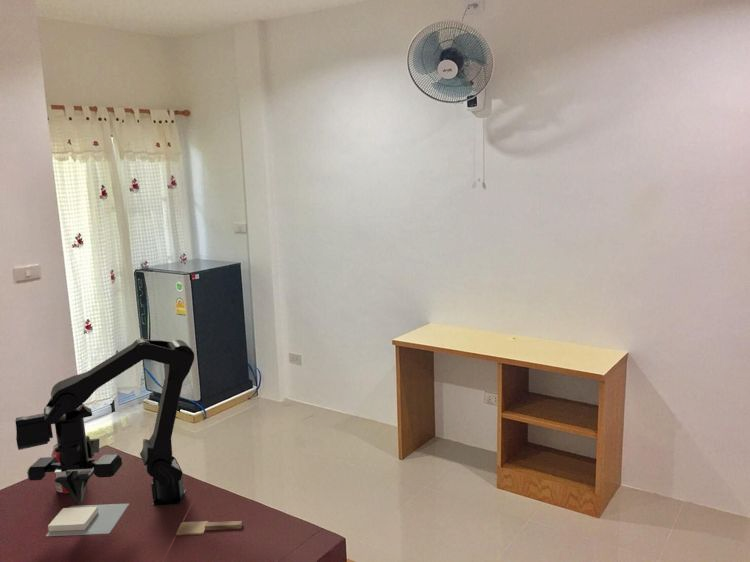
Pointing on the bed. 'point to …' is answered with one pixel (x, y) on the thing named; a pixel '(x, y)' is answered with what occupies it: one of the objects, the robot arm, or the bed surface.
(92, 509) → the tile
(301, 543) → the bed surface
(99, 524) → the mat
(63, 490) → the soda can
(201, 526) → the tan slab
